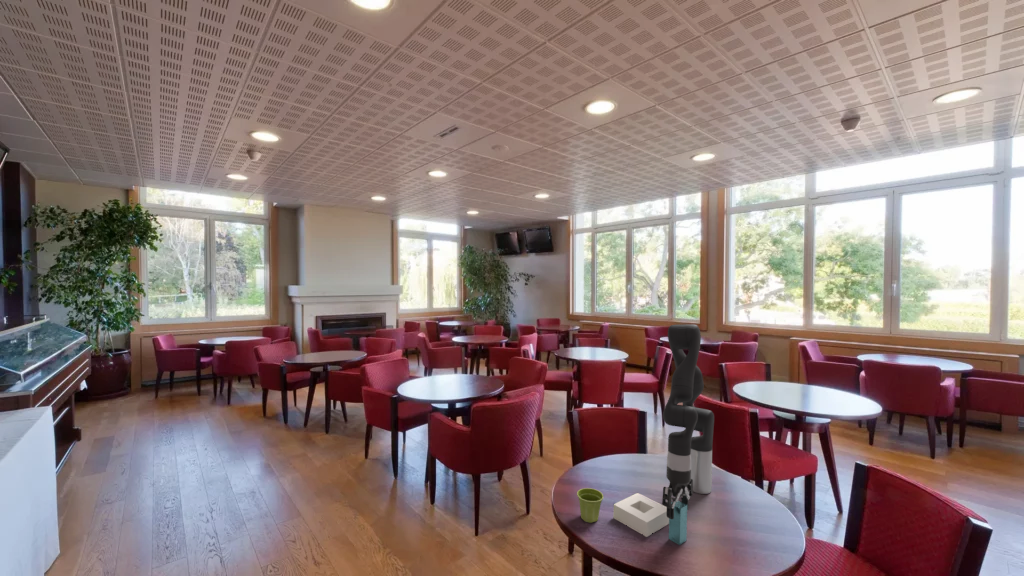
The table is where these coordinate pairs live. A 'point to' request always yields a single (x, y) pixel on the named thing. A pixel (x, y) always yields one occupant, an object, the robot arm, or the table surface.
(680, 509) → the bracket post
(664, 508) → the well block
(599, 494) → the plant pot
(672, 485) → the robot arm
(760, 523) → the table surface
